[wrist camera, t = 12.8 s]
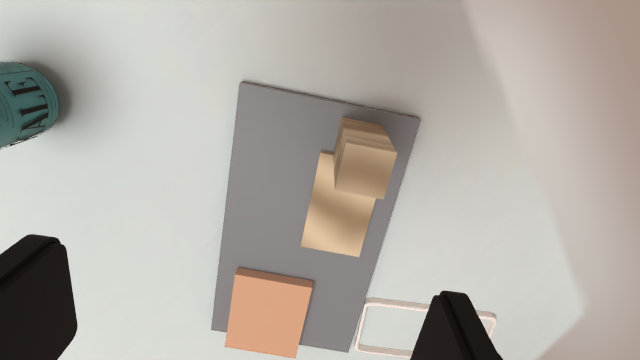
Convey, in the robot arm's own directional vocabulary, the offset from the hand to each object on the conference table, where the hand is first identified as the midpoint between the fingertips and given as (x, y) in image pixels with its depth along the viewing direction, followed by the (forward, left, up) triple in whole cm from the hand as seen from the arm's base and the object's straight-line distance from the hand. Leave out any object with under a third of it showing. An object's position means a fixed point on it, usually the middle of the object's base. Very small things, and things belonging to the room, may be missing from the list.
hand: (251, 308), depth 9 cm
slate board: (+13, +2, -26) cm, 29 cm away
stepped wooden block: (+6, +5, -25) cm, 26 cm away
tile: (+17, 0, -24) cm, 29 cm away
